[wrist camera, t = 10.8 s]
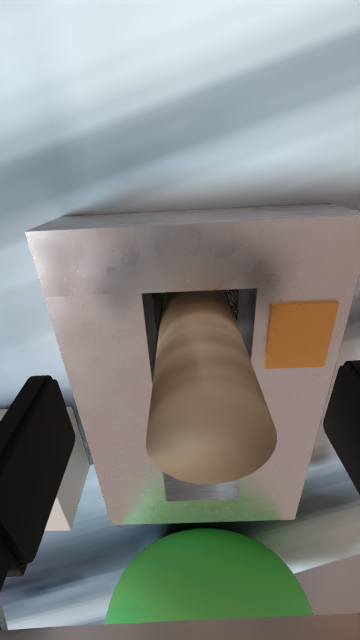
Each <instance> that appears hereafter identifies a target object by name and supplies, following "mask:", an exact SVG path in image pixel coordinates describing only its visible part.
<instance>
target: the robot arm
mask: <svg viewBox="0 0 360 640" xmlns="http://www.w3.org/2000/svg"><path fill="white" fill-rule="evenodd" d="M323 426H324V431H325V433H326V435H327V437H328V438H329V440H330V442H331V444H332V446H333V448H334V449H335V451H336V453H337V455H338V457H339V458H340V460H341V462H342V464H343V466H344V467H345V469H346V471H347V473H348V475H349V476H350V478H351V480H352V482H353V484H354V485H355V487H356V489H357V491H358V493H359V494H360V360H355V361H346V362H345V363H344V365H343V366H340V368H339V370H338V373H337V377H336V380H335V384H334V387H333V391H332V394H331V398H330V401H329V404H328V408H327V411H326V415H325V418H324V422H323ZM74 444H75V432H74V429H73V426H72V423H71V420H70V417H69V414H68V411H67V408H66V405H65V402H64V399H63V396H62V393H61V391H60V388H59V385H58V382H57V380H55V379H54V380H53V379H52V377H51V376H49V375H45V376H31V377H30V378H29V379H28V380H27V381H26V383H25V384H24V386H23V387H22V389H21V391H20V392H19V394H18V395H17V397H16V398H15V400H14V401H13V403H12V404H11V406H10V407H9V409H8V410H7V412H6V413H5V415H4V416H3V418H2V419H1V421H0V590H1V588H2V586H3V583H4V581H5V578H6V577H14V576H23V575H24V572H25V569H26V567H27V564H28V563H30V562H32V561H33V560H34V558H35V556H36V553H37V551H38V548H39V545H40V542H41V539H42V536H43V534H44V531H45V528H46V525H47V522H48V519H49V516H50V513H51V510H52V508H53V505H54V502H55V499H56V496H57V493H58V490H59V487H60V485H61V482H62V479H63V476H64V473H65V470H66V467H67V464H68V462H69V459H70V456H71V453H72V450H73V447H74ZM0 640H360V613H356V614H330V615H302V616H279V617H255V618H232V619H209V620H187V621H164V622H144V623H123V624H103V625H82V626H62V627H46V628H32V629H18V630H8V629H7V625H6V620H5V616H4V612H3V608H2V603H1V599H0Z"/></svg>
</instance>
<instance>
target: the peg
mask: <svg viewBox="0 0 360 640" xmlns="http://www.w3.org/2000/svg"><path fill="white" fill-rule="evenodd" d="M276 443H277V432H276V428H275V425H274V423H273V420H272V417H271V415H270V412H269V409H268V406H267V404H266V401H265V398H264V396H263V393H262V390H261V388H260V385H259V382H258V379H257V377H256V374H255V371H254V369H253V366H252V363H251V360H250V358H249V355H248V352H247V350H246V347H245V344H244V341H243V339H242V336H241V333H240V331H239V328H238V325H237V323H236V320H235V317H234V314H233V312H232V309H231V306H230V304H229V301H228V298H227V295H226V293H225V291H224V290H205V291H183V292H165V294H164V297H163V302H162V310H161V318H160V327H159V335H158V343H157V352H156V360H155V368H154V376H153V385H152V393H151V401H150V410H149V418H148V426H147V434H146V449H147V453H148V455H149V457H150V459H151V460H152V462H153V463H154V464H155V465H156V466H157V467H158V468H159V469H160V470H161V471H162V472H164V473H166V474H167V475H169V476H171V477H173V478H176V479H178V480H181V481H185V482H189V483H195V484H220V483H227V482H231V481H235V480H238V479H241V478H243V477H246V476H248V475H250V474H251V473H253V472H255V471H256V470H258V469H259V468H260V467H262V466H263V465H264V464H265V463H266V462H267V461H268V460H269V458H270V457H271V455H272V454H273V452H274V450H275V447H276Z"/></svg>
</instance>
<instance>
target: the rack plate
mask: <svg viewBox="0 0 360 640" xmlns="http://www.w3.org/2000/svg"><path fill="white" fill-rule="evenodd" d="M25 233H26V237H27V240H28V244H29V247H30V250H31V254H32V257H33V260H34V264H35V267H36V271H37V274H38V277H39V281H40V284H41V288H42V291H43V294H44V298H45V301H46V304H47V308H48V311H49V315H50V318H51V321H52V325H53V328H54V331H55V335H56V338H57V342H58V345H59V348H60V352H61V355H62V359H63V362H64V365H65V369H66V372H67V375H68V379H69V382H70V386H71V389H72V392H73V396H74V399H75V402H76V406H77V409H78V413H79V416H80V419H81V423H82V426H83V429H84V433H85V436H86V440H87V443H88V446H89V450H90V453H91V457H92V460H93V463H94V467H95V470H96V473H97V477H98V480H99V484H100V487H101V490H102V494H103V497H104V500H105V504H106V507H107V511H108V514H109V517H110V521H111V524H112V525H128V524H163V523H197V522H231V521H266V520H295V517H296V513H297V509H298V505H299V502H300V498H301V494H302V490H303V486H304V483H305V479H306V475H307V471H308V468H309V464H310V460H311V456H312V452H313V449H314V445H315V441H316V437H317V434H318V430H319V426H320V422H321V418H322V415H323V411H324V407H325V403H326V400H327V396H328V392H329V388H330V384H331V381H332V377H333V373H334V369H335V366H336V362H337V358H338V354H339V350H340V347H341V343H342V339H343V335H344V332H345V328H346V324H347V320H348V316H349V313H350V309H351V305H352V301H353V298H354V294H355V290H356V286H357V282H358V279H359V275H360V211H358V210H354V209H350V208H345V207H341V206H337V205H333V204H329V203H326V204H306V205H285V206H265V207H245V208H224V209H204V210H184V211H164V212H143V213H123V214H103V215H82V216H62V217H59V218H56V219H54V220H52V221H49V222H47V223H45V224H42V225H40V226H38V227H35V228H33V229H30V230H28V231H26V232H25ZM228 289H239V296H238V314H237V325H238V328H239V331H240V333H241V336H242V339H243V341H244V344H245V347H246V350H247V352H248V355H249V358H250V360H251V363H252V366H253V369H254V371H255V374H256V377H257V379H258V382H259V385H260V388H261V390H262V393H263V396H264V398H265V401H266V404H267V406H268V409H269V412H270V415H271V417H272V420H273V423H274V425H275V428H276V432H277V443H276V447H275V450H274V452H273V454H272V455H271V457H270V458H269V460H268V461H267V462H266V463H265V464H264V465H263V466H262V467H260V468H259V469H258V470H256V471H255V472H253V473H251V474H250V475H248V476H246V477H243V478H241V479H238V480H235V481H231V482H227V483H220V484H195V483H189V482H185V481H181V480H178V479H176V478H173V477H171V476H169V475H167V474H166V473H164V472H162V471H161V470H160V469H159V468H158V467H157V466H156V465H155V464H154V463H153V462H152V460H151V459H150V457H149V455H148V453H147V449H146V434H147V426H148V418H149V410H150V401H151V393H152V385H153V376H154V368H155V360H156V352H157V343H158V342H157V337H156V327H155V317H154V307H153V297H152V293H160V292H183V291H205V290H228Z"/></svg>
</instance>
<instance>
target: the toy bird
mask: <svg viewBox="0 0 360 640" xmlns="http://www.w3.org/2000/svg"><path fill="white" fill-rule="evenodd" d="M302 615H313V611H312V609H311V606H310V604H309V601H308V599H307V597H306V595H305V593H304V591H303V589H302V587H301V585H300V583H299V582H298V580H297V579H296V577H295V576H294V574H293V573H292V571H291V570H290V569H289V567H288V566H287V565H286V564H285V563H284V562H283V561H282V560H281V559H280V558H279V557H278V556H277V555H276V554H275V553H274V552H273V551H272V550H270V549H269V548H268V547H266V546H265V545H263V544H262V543H260V542H258V541H256V540H254V539H252V538H250V537H248V536H245V535H243V534H240V533H236V532H233V531H229V530H223V529H215V528H197V529H189V530H184V531H180V532H176V533H173V534H170V535H168V536H165V537H163V538H161V539H159V540H157V541H155V542H154V543H152V544H150V545H149V546H148V547H146V548H145V549H144V550H143V551H141V552H140V553H139V554H138V555H137V556H136V557H135V558H134V559H133V560H132V562H131V563H130V564H129V565H128V567H127V568H126V570H125V571H124V573H123V574H122V576H121V578H120V580H119V582H118V584H117V586H116V588H115V590H114V592H113V595H112V598H111V601H110V604H109V607H108V611H107V615H106V620H105V624H123V623H144V622H164V621H187V620H209V619H232V618H255V617H279V616H302Z"/></svg>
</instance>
